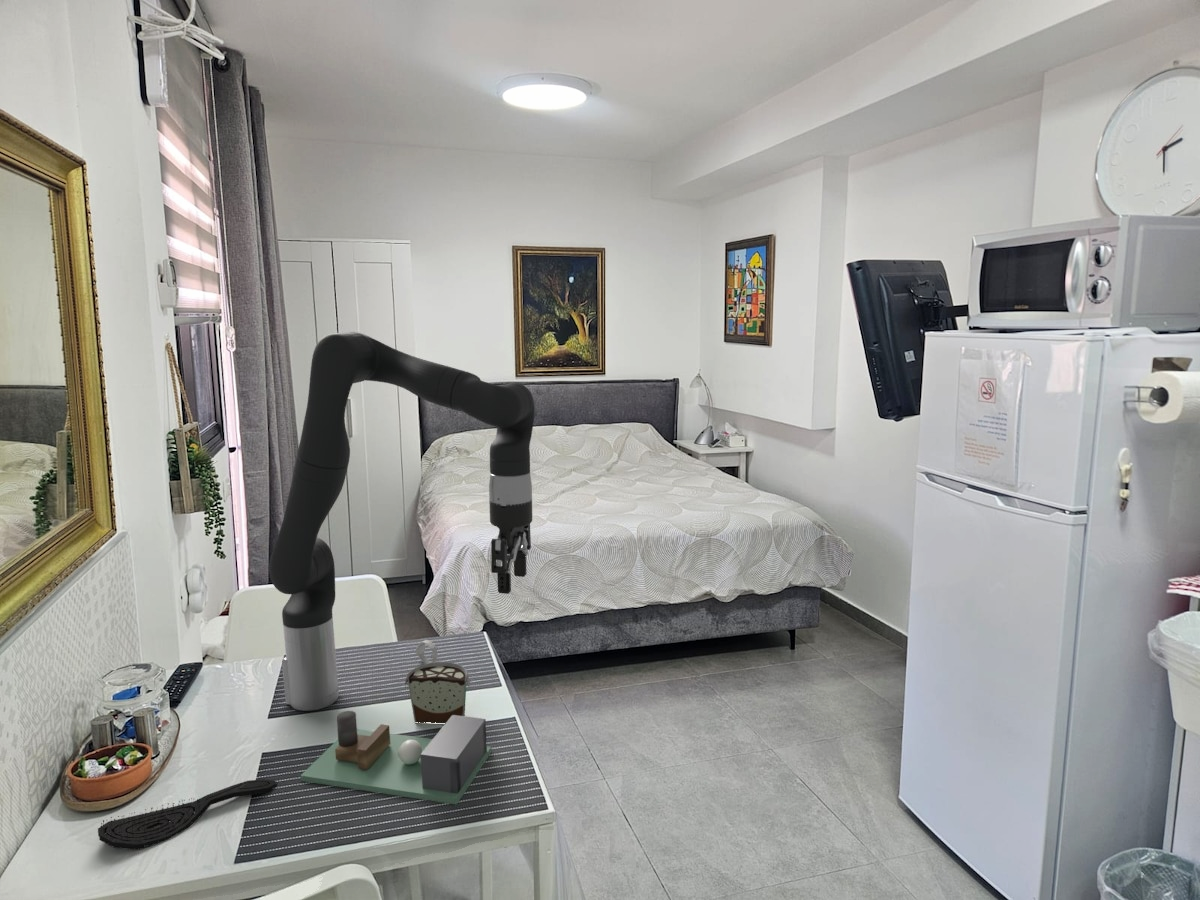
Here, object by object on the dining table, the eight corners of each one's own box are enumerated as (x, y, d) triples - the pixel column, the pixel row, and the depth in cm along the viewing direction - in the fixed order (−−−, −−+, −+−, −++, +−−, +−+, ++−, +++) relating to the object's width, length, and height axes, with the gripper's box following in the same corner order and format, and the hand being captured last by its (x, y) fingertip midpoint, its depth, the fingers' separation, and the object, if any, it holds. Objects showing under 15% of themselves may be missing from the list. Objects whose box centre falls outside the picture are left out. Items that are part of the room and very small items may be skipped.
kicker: (327, 764, 133) (324, 726, 132) (353, 738, 141) (350, 703, 140) (367, 769, 132) (364, 731, 130) (390, 743, 139) (387, 707, 138)
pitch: (301, 780, 131) (300, 775, 131) (349, 733, 145) (349, 728, 145) (456, 804, 124) (456, 798, 124) (491, 751, 139) (491, 746, 138)
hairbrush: (282, 782, 127) (100, 841, 111) (283, 803, 127) (102, 864, 112) (268, 759, 133) (94, 812, 118) (269, 779, 134) (96, 834, 118)
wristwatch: (425, 657, 176) (423, 636, 175) (440, 663, 173) (439, 642, 172) (415, 662, 173) (413, 641, 172) (430, 668, 170) (429, 646, 169)
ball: (394, 767, 133) (393, 746, 132) (405, 754, 136) (404, 733, 136) (416, 770, 132) (414, 749, 131) (426, 757, 135) (425, 736, 135)
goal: (422, 788, 127) (420, 754, 126) (454, 746, 139) (452, 714, 138) (458, 793, 125) (456, 759, 124) (486, 750, 137) (485, 718, 136)
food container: (478, 709, 153) (476, 661, 151) (470, 725, 147) (468, 676, 145) (417, 706, 154) (415, 659, 153) (407, 723, 148) (404, 674, 147)
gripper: (504, 486, 146) (506, 569, 149) (475, 506, 132) (478, 596, 135) (543, 488, 144) (544, 572, 147) (517, 509, 130) (519, 600, 134)
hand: (512, 584), depth 141 cm, fingers open, 8 cm apart
